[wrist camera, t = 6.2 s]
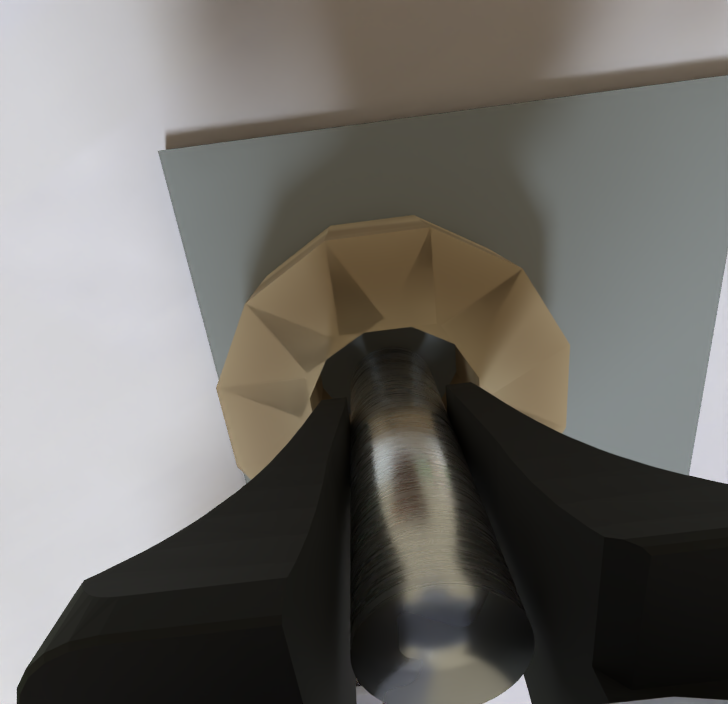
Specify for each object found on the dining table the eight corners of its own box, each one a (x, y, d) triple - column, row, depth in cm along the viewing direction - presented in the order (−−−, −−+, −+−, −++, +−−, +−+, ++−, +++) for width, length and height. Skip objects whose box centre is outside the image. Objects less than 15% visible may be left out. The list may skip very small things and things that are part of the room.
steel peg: (437, 413, 14) (538, 699, 6) (358, 426, 14) (368, 723, 6) (426, 339, 13) (530, 571, 5) (343, 354, 13) (332, 602, 6)
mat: (663, 568, 19) (670, 577, 19) (284, 610, 19) (282, 621, 19) (743, 74, 12) (758, 71, 12) (164, 151, 13) (157, 151, 12)
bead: (525, 462, 16) (561, 522, 14) (276, 491, 17) (261, 557, 14) (528, 200, 13) (577, 208, 10) (216, 240, 13) (181, 259, 10)
